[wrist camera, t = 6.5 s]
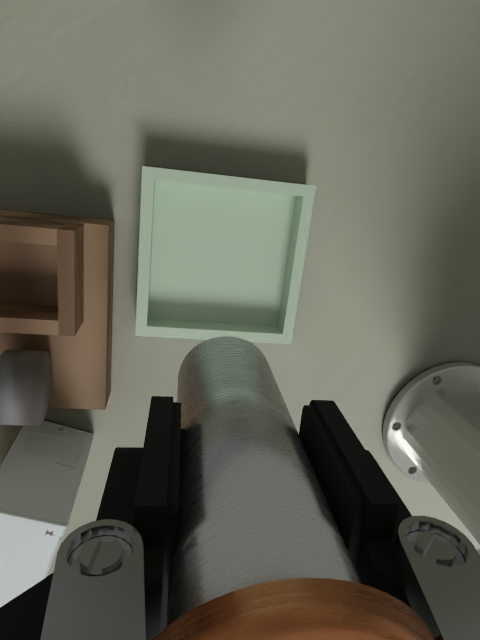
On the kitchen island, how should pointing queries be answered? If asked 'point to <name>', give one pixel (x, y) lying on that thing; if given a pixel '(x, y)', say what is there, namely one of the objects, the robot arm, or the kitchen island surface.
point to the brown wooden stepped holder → (54, 314)
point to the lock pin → (260, 520)
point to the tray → (220, 255)
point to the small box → (37, 501)
